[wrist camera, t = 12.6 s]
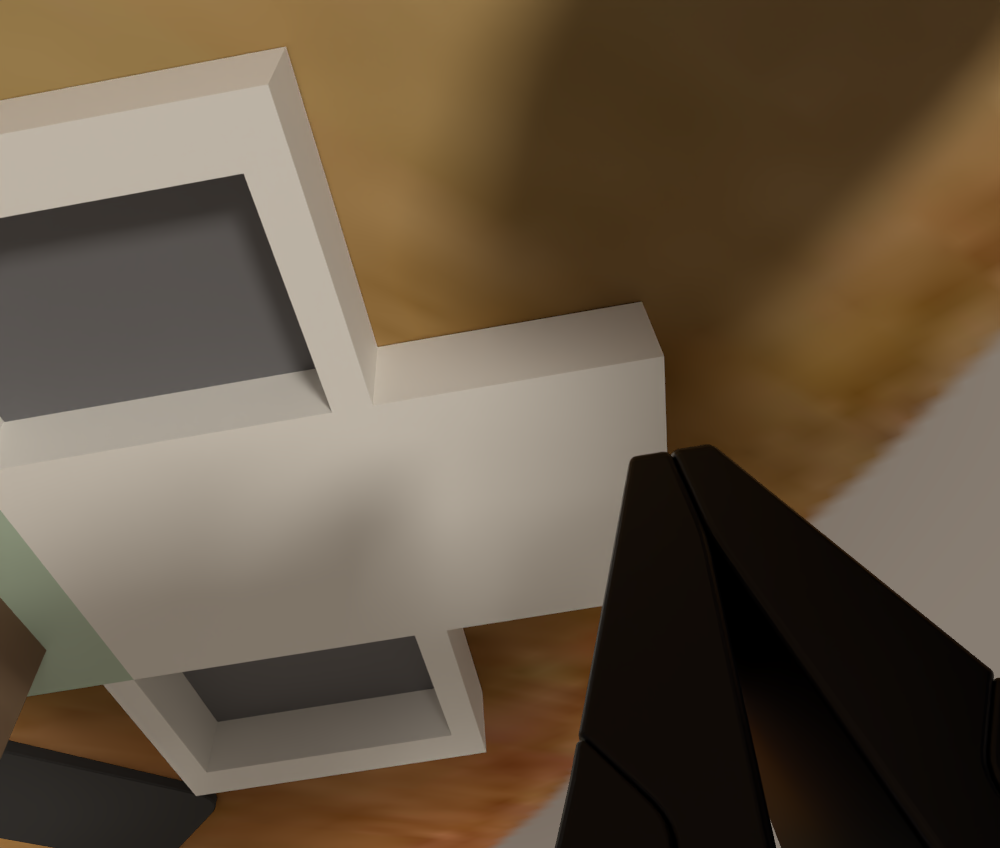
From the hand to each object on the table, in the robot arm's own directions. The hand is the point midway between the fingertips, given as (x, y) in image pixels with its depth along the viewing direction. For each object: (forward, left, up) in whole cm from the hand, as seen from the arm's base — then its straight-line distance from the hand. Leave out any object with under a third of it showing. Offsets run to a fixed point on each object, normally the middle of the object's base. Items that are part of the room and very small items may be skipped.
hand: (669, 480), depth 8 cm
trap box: (+10, +10, -12) cm, 19 cm away
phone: (+25, +24, -13) cm, 37 cm away
